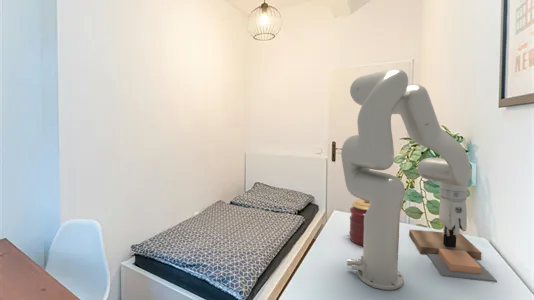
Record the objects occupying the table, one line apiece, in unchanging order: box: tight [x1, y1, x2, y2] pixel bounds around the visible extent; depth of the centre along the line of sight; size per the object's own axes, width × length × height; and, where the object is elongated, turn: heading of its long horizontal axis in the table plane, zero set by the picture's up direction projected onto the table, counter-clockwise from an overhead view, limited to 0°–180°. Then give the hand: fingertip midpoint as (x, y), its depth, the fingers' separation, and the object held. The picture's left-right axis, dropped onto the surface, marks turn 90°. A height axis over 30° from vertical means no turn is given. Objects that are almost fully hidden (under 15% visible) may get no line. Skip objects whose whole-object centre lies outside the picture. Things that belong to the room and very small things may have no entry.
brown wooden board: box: [408, 229, 482, 261], centre depth 96 cm, size 18×15×2 cm
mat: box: [426, 253, 498, 283], centre depth 82 cm, size 14×13×1 cm
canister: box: [349, 198, 370, 247], centre depth 101 cm, size 13×13×18 cm
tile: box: [438, 249, 481, 274], centre depth 84 cm, size 8×10×2 cm
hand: (449, 246), depth 89 cm, fingers closed
